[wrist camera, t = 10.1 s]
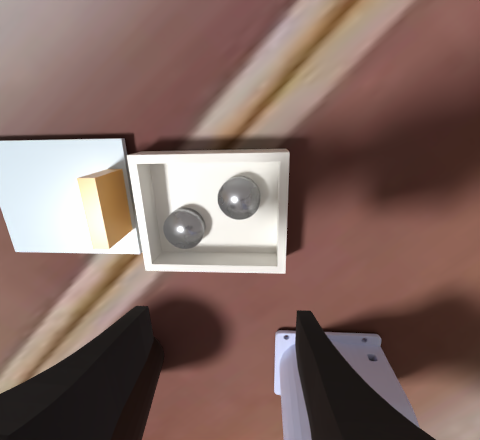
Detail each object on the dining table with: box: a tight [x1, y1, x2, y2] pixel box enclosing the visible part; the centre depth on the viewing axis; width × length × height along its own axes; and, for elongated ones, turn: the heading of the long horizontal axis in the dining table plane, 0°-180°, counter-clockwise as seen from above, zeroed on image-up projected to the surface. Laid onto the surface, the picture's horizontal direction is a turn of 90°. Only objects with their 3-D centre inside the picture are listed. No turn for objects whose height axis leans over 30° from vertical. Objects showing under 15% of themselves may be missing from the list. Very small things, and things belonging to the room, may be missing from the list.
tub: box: [127, 149, 290, 273], centre depth 21 cm, size 11×9×3 cm
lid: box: [0, 138, 142, 254], centre depth 21 cm, size 11×9×5 cm
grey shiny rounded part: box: [163, 208, 206, 249], centre depth 22 cm, size 3×3×1 cm
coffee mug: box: [111, 336, 164, 440], centre depth 24 cm, size 12×9×10 cm
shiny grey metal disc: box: [218, 176, 261, 220], centre depth 21 cm, size 3×3×1 cm
